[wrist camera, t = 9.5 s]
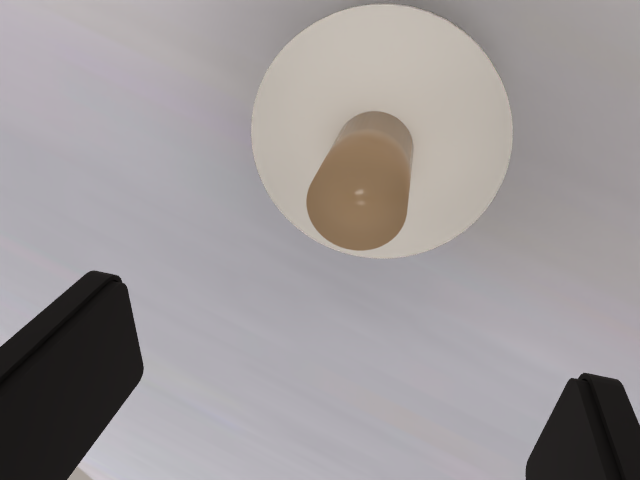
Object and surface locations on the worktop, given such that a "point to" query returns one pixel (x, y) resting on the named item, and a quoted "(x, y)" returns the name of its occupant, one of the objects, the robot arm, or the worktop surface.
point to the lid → (382, 131)
